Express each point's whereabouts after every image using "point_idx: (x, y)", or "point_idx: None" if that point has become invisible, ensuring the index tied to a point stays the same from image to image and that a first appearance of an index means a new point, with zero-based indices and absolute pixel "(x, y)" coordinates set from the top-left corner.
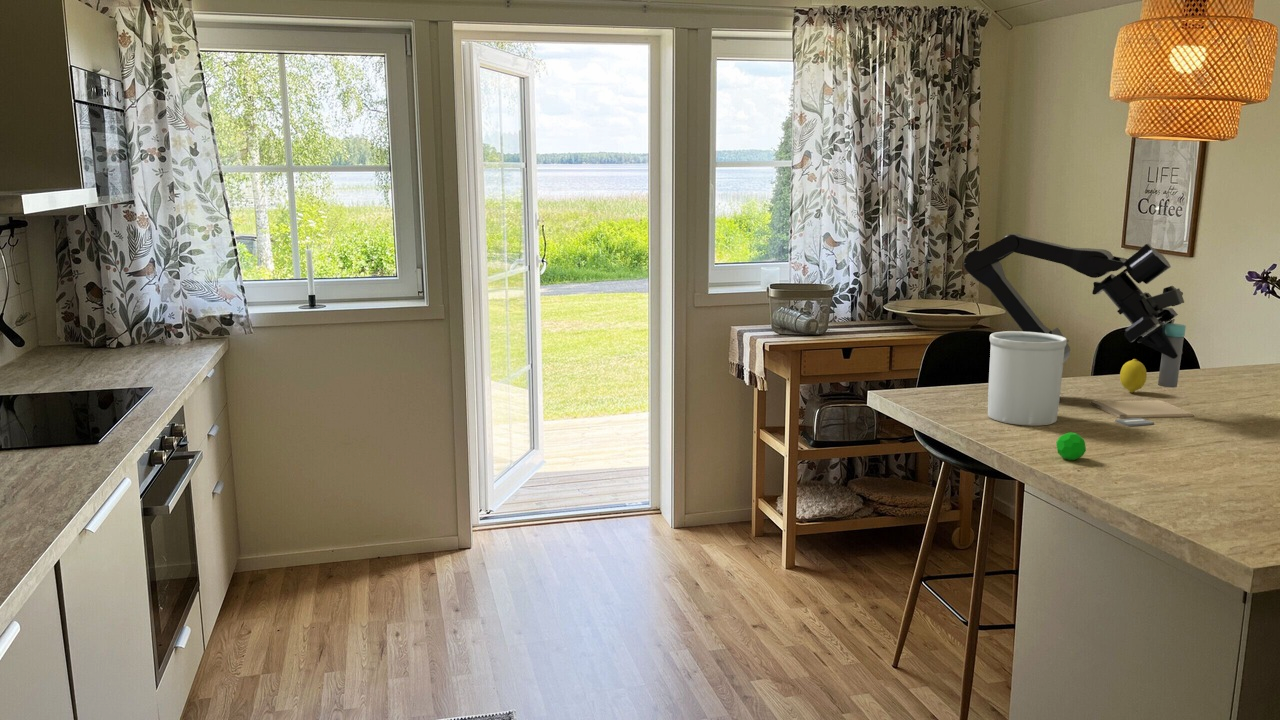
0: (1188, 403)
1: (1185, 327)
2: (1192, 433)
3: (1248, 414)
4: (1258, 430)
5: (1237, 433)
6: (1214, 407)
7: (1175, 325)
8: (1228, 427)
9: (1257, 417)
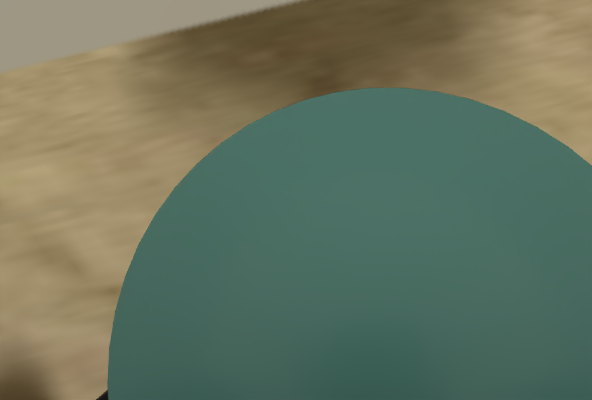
0: (94, 292)
1: (358, 106)
2: (584, 148)
3: (152, 90)
4: (365, 11)
5: (458, 43)
6: (108, 200)
7: (477, 326)
8: (392, 85)
9: (179, 59)
